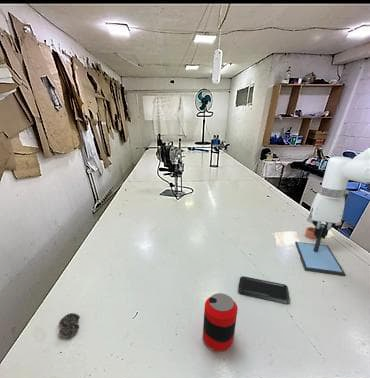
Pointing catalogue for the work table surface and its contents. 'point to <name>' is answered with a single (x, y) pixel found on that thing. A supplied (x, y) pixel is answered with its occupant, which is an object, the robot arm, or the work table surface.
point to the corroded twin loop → (69, 325)
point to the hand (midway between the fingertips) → (319, 236)
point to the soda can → (219, 322)
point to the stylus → (319, 238)
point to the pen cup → (310, 233)
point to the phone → (264, 289)
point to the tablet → (318, 259)
